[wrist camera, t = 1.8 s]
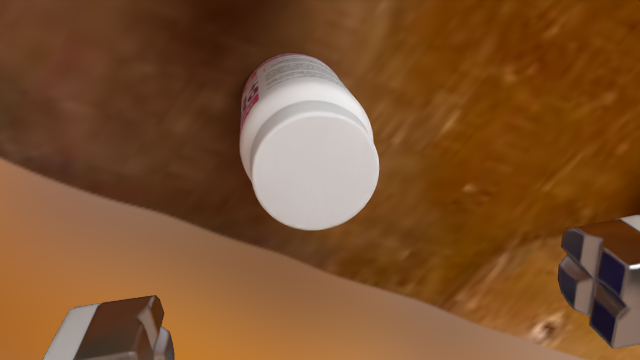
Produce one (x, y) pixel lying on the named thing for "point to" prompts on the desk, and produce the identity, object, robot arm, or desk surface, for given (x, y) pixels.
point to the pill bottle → (306, 143)
